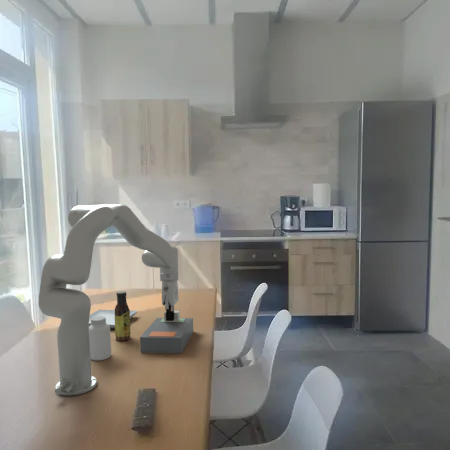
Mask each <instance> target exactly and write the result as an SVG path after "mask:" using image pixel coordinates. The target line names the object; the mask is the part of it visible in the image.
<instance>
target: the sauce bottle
mask: <svg viewBox="0 0 450 450" xmlns="http://www.w3.org/2000/svg"><path fill="white" fill-rule="evenodd" d="M116 299H117V301H116V305H115V307H114V310H115V328H114V335H115V340H116V341H120V342H124V341H128V340H129V339H131V318H130V310H131V309H130V308H129V305H128V302H127V291H124V290H123V291H117V292H116Z"/></svg>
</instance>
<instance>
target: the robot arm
mask: <svg viewBox="0 0 450 450" xmlns="http://www.w3.org/2000/svg"><path fill="white" fill-rule="evenodd" d="M67 220H68V223H69V225H70V226H71V229H70V231H69V232H68V234H67V237H66V241H65V246H64V251H63V253H55V254H52V255H51V256H49V257H48V258H47V259H46V261H45V263H44V264H43V267H42V272H41V277H40V284H39V285H40V286H39V294H38V307H39V311H40V312H41V313H42V314H43V315H45V316H48V317H52V318H57V319H60V323H59V325H58V326H59V327H58V329H57V333H56V334H57V335H56V337H57V338H56V339H57V352H58V365H59V366H58V367H59V368H58V370H59V381H58V382H57V383H56V385H55V386H54V393H55V395H59V396H79V395H82V394H86V393H88V392H90V391H91V390H93V389H94V388H95V387H96V386H97V385H98V380H97V378H96V377H95V376H93V375H92V364H91V363H92V362H91V360H92V359H90V341H89V315H90V314H91V307H92V303H91V299H90V297H89V296H88V295H87V294H86V293H85V292H84V291H81V290H79V289H72V288H67V285H71V286H82V285H84V284H85V283H87V281H88V280H89V278H90V274H91V269H92V262H93V261H92V259H93V252H94V246H95V242H96V240H97V238H98V237H99V236H100V235H101V234H102V233H103V232H104V231H106V230H107V229H109V228H113V229H115V230H116V231H117V232H118V233H119V234H120V235H121V236H122V237H123V239H124V240H125V241H126V242H127V243H128V244H129V245H130V246H133V247H135V248H136V249H137V248H138V249H139V250H144V251H143V253H142V255H141V262H142V263H143V264H144V265H145V266H146V267H150V268H157V269H159V281H160V282H161V305H162V306H164V309H165V311H166V321H173V320H174V311H175V305H176V304H177V303H178V302H179V284H178V281H179V252H178V251H179V250H178V248H177V247H176V246H172V245H171V244H170V243H169V241H167V240H165V239H164V238H163V237H162V236H159V235H158V234H157V233H154V232H153V231H152V230H150V229H148V228H147V227H146V226H145V225H144V223H142V221H141V220H140V219H139V218H138V217H137V215H136V214H135V213H134V212H133V210H132V209H131V208H130V207H129V206H127V205H126V204H122V203H120V204H117V203H113V204H112V203H111V204H110V203H108V204H107V203H104V204H103V203H102V204H91V205H90V204H89V205H87V204H86V205H84V204H83V205H76V206H73V208H71V209H70V211H69V212H68V216H67Z"/></svg>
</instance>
